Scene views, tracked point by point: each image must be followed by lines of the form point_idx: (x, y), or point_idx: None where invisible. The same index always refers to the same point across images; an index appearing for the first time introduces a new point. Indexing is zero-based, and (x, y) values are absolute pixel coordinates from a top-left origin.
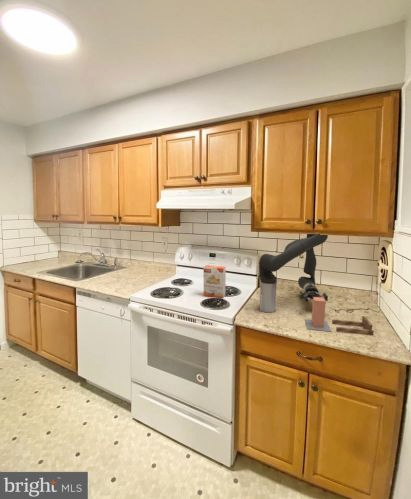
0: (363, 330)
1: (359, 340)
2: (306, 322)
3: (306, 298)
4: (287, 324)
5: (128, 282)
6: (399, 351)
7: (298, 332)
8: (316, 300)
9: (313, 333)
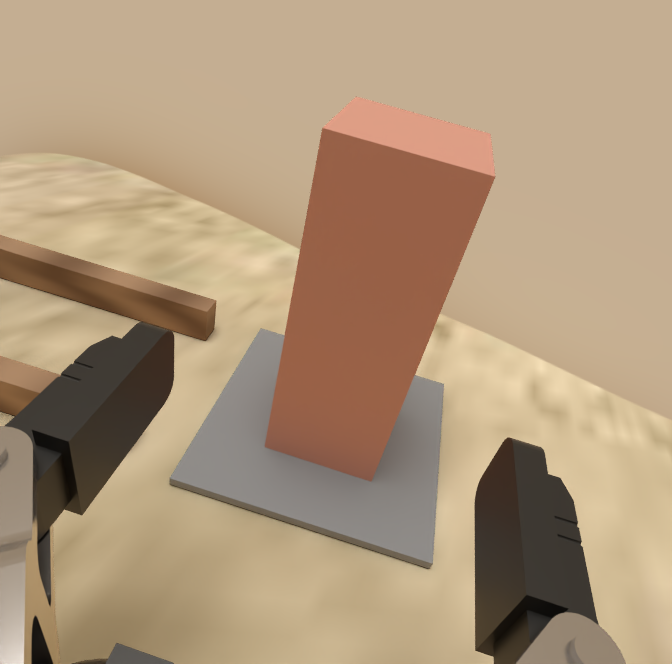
0: (22, 242)
1: (142, 243)
2: (429, 479)
3: (539, 465)
4: (618, 490)
5: None
6: (25, 165)
7: (518, 372)
8: (469, 128)
9: None
